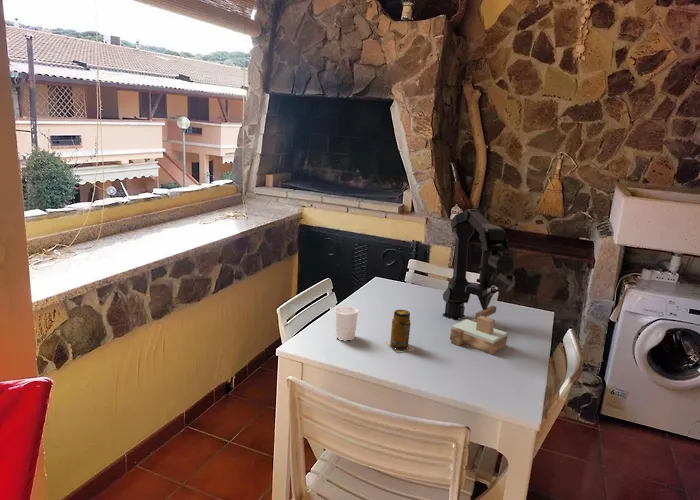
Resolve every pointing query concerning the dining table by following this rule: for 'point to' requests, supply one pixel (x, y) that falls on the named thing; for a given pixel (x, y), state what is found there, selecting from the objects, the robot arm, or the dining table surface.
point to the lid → (481, 329)
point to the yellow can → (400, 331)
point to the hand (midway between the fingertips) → (484, 309)
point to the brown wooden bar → (486, 312)
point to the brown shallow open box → (476, 341)
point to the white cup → (345, 322)
